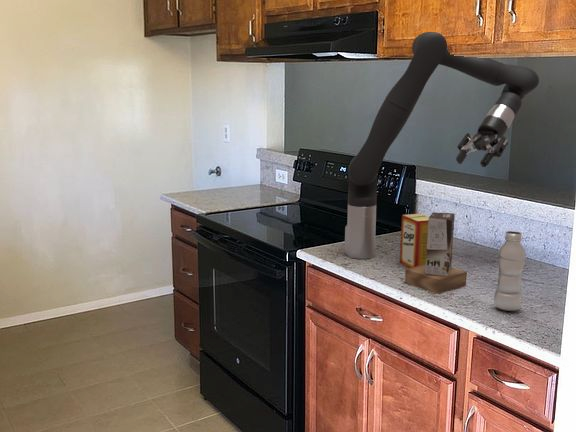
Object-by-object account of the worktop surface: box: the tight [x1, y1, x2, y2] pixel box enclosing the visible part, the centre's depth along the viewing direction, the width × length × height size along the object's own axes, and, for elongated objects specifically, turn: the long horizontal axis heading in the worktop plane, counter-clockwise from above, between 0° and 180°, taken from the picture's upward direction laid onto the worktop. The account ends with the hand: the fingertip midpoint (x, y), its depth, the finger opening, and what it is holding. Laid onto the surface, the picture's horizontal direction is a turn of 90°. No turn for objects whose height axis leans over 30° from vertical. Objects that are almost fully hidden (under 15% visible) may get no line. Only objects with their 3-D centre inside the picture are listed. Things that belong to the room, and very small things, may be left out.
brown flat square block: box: [404, 264, 468, 295], centre depth 176 cm, size 12×12×4 cm
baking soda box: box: [399, 213, 430, 269], centre depth 191 cm, size 10×6×16 cm
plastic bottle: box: [493, 230, 527, 312], centre depth 154 cm, size 6×7×20 cm
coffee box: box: [425, 211, 456, 276], centre depth 173 cm, size 9×6×16 cm
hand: (470, 163), depth 182 cm, fingers open, 8 cm apart
